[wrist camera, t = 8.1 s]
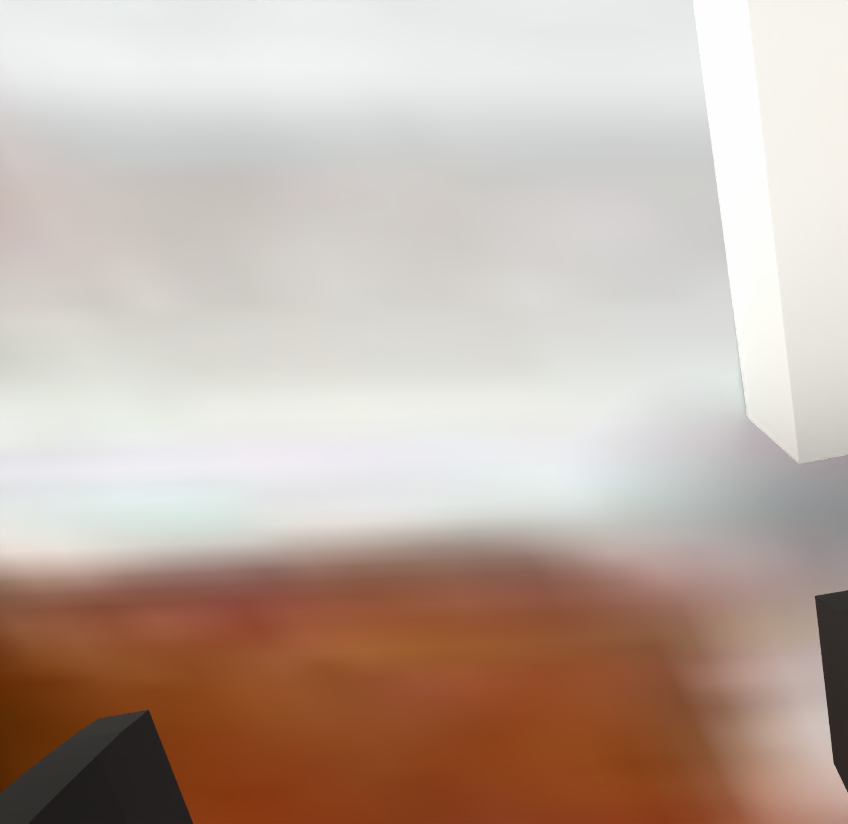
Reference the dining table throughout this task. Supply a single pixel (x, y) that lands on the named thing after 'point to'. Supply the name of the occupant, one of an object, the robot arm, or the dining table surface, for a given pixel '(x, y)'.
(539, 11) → the dining table surface
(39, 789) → the robot arm
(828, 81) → the base block
